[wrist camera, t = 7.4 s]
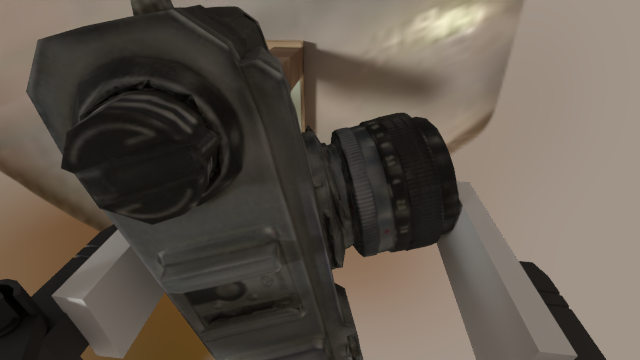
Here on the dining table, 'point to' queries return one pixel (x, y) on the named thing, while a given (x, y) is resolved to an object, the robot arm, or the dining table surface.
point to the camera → (235, 175)
